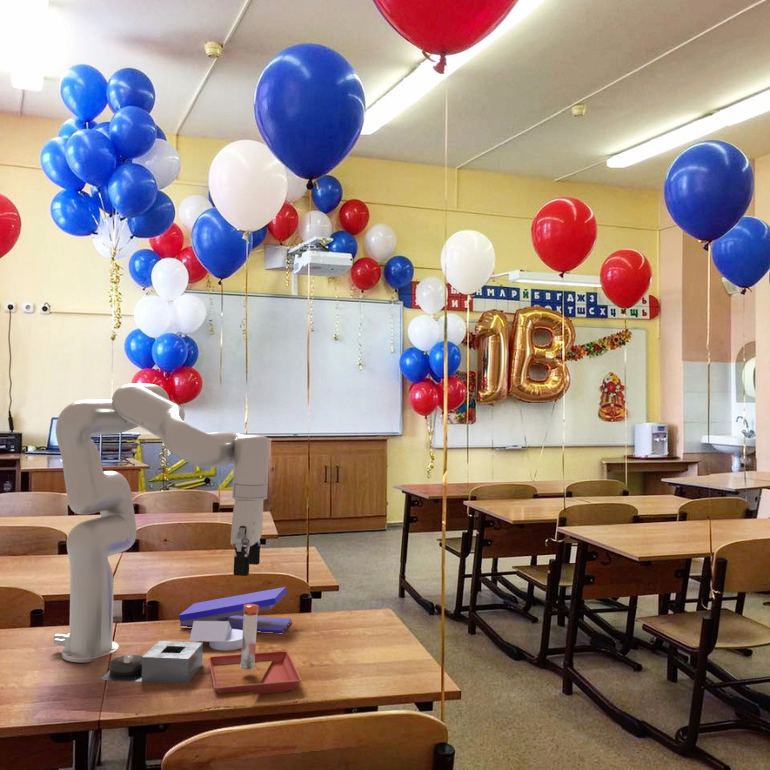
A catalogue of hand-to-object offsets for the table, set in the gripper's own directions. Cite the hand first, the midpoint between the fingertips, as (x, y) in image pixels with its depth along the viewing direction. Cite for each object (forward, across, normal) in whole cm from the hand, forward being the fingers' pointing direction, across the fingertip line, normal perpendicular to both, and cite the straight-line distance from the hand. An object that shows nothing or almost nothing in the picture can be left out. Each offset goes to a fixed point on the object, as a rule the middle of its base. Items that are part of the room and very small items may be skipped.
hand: (246, 569), depth 161 cm
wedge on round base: (+24, -18, -10) cm, 32 cm away
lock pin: (+21, +1, +1) cm, 21 cm away
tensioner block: (+24, +1, -20) cm, 31 cm away
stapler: (+25, -36, -11) cm, 45 cm away
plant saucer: (+25, 0, +2) cm, 25 cm away
